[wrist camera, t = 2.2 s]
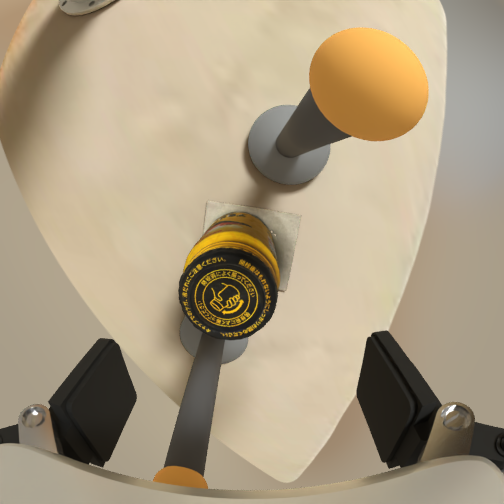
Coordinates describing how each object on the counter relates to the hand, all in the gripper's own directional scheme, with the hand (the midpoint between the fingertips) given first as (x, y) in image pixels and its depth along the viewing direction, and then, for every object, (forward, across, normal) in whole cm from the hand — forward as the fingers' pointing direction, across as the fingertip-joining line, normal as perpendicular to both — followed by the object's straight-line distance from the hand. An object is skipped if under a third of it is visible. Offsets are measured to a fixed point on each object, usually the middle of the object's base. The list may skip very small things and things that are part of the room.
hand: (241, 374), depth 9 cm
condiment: (+17, 0, 0) cm, 17 cm away
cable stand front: (+17, -4, -9) cm, 20 cm away
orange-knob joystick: (+17, +4, +9) cm, 20 cm away
